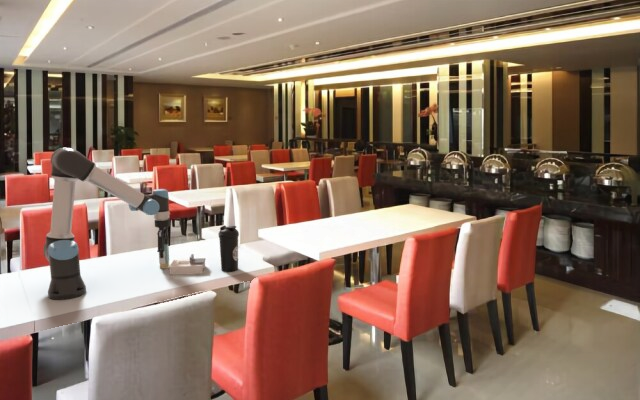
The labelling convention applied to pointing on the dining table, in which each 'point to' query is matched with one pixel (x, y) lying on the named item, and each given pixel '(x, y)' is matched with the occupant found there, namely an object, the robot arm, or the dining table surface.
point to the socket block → (185, 267)
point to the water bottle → (229, 248)
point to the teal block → (166, 249)
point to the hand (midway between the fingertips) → (164, 260)
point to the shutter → (196, 260)
